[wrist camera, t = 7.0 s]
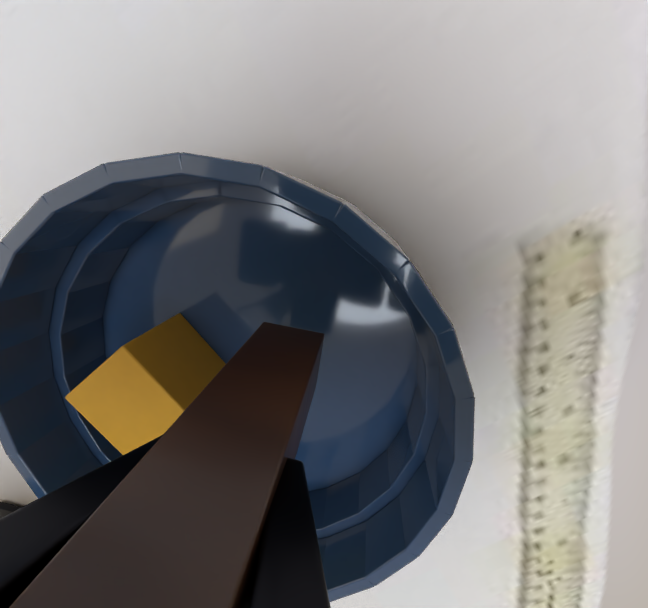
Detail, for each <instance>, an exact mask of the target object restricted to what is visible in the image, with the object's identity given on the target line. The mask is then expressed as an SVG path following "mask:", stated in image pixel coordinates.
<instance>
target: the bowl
mask: <svg viewBox="0 0 648 608" xmlns="http://www.w3.org/2000/svg"><path fill="white" fill-rule="evenodd" d="M179 313H180V314H181V315H182V316H183V317H184V318H185V319H186V320H187V321H188V322H189V323H190V325H191V326H192V327H193V328H194V329H195V330H196V331H197V332H198V333H199V335H200V336H201V337H202V338H203V339H204V340H205V341H206V342H207V343H208V345H209V346H210V347H211V348H212V349H213V350H214V351H215V352H216V354H217V355H218V356H219V357H220V358H221V359H222V360H223V361H224V362H225V364H227V362H228V361H229V360H230V359H231V358H232V357H233V356H234V355H235V353H236V352H237V351H238V350H239V349H240V348H241V347H242V346H243V345H244V343H245V342H246V341H247V340H248V339H249V338H250V337H251V336H252V334H253V333H254V332H255V331H256V330H257V329H258V328H259V327H260V325H261V324H262V323H263V322H268V323H273V324H278V325H283V326H288V327H293V328H298V329H303V330H309V331H314V332H319V333H323V334H324V335H325V336H324V342H323V348H322V353H321V359H320V365H319V371H318V377H317V383H316V388H315V392H314V395H313V398H312V402H311V405H310V409H309V412H308V416H307V419H306V423H305V426H304V430H303V433H302V437H301V440H300V444H299V447H298V451H297V454H296V457H295V459H296V460H300V461H302V462H303V464H304V469H305V474H306V480H307V485H308V490H309V496H310V501H311V506H312V512H313V517H314V522H315V528H316V533H317V538H318V544H319V549H320V554H321V560H322V565H323V570H324V576H325V581H326V586H327V592H328V597H329V602H332V601H335V600H337V599H340V598H343V597H346V596H349V595H352V594H355V593H358V592H360V591H363V590H366V589H369V588H372V587H374V586H376V585H378V584H379V583H381V582H382V581H384V580H385V579H387V578H388V577H390V576H391V575H393V574H394V573H396V572H397V571H399V570H400V569H402V568H403V567H405V566H406V565H407V564H409V563H410V562H412V561H413V560H415V559H416V558H417V557H419V556H420V555H421V554H422V552H423V551H424V550H425V549H426V547H427V546H428V545H429V544H430V542H431V541H432V540H433V539H434V538H435V536H436V535H437V534H438V533H439V531H440V530H441V529H442V528H443V526H444V525H445V524H446V523H447V522H448V520H449V519H450V518H451V517H452V515H453V513H454V510H455V507H456V505H457V502H458V499H459V497H460V494H461V491H462V489H463V486H464V483H465V481H466V478H467V475H468V473H469V470H470V467H471V465H472V461H473V441H474V407H475V398H474V393H473V389H472V386H471V383H470V379H469V376H468V372H467V369H466V366H465V362H464V359H463V355H462V352H461V349H460V345H459V342H458V339H457V335H456V332H455V329H454V327H453V325H452V323H451V322H450V320H449V318H448V317H447V315H446V314H445V312H444V311H443V309H442V308H441V306H440V305H439V303H438V302H437V300H436V299H435V297H434V296H433V294H432V293H431V291H430V290H429V288H428V287H427V285H426V284H425V282H424V280H423V279H422V277H421V276H420V274H419V273H418V271H417V270H416V268H415V267H414V265H413V264H412V262H411V261H410V259H409V258H408V257H407V255H406V254H405V253H404V251H403V250H402V249H401V247H400V246H399V244H398V243H397V242H396V241H395V240H394V239H393V238H392V237H391V236H390V235H388V234H387V233H386V232H385V231H384V230H383V229H382V228H380V227H379V226H378V225H377V224H376V223H375V222H373V221H372V220H371V219H370V218H369V217H368V216H366V215H365V214H364V213H363V212H362V211H361V210H360V209H358V208H357V207H356V206H355V205H354V204H351V203H350V202H349V201H346V200H344V199H342V198H340V197H338V196H336V195H334V194H332V193H329V192H327V191H325V190H323V189H321V188H319V187H317V186H315V185H312V184H310V183H308V182H306V181H304V180H302V179H299V178H297V177H294V176H291V175H288V174H286V173H283V172H280V171H278V170H275V169H272V168H269V167H266V166H263V165H259V164H253V163H246V162H240V161H234V160H228V159H222V158H216V157H209V156H203V155H197V154H191V153H185V152H183V153H179V152H177V153H170V154H163V155H156V156H149V157H143V158H136V159H129V160H122V161H115V162H108V163H105V164H101V165H99V166H97V167H95V168H93V169H91V170H90V171H88V172H86V173H84V174H82V175H80V176H78V177H76V178H74V179H72V180H70V181H68V182H66V183H64V184H62V185H60V186H59V187H57V188H55V189H53V190H51V191H49V192H47V193H45V194H43V196H41V197H40V198H39V199H38V201H37V202H36V203H35V204H34V205H33V206H32V207H31V208H30V209H29V210H28V212H27V213H26V214H25V215H24V216H23V217H22V218H21V219H20V220H19V221H18V222H17V224H16V225H15V226H14V227H13V228H12V229H11V230H10V231H9V232H8V233H7V234H6V236H5V237H4V238H3V239H2V241H1V242H0V441H1V443H2V446H3V448H4V450H5V452H6V455H8V457H9V459H10V460H11V461H12V463H13V464H14V466H15V467H16V468H17V470H18V471H19V473H20V474H21V475H22V477H23V478H24V480H25V481H26V482H27V484H28V485H29V486H30V488H31V489H32V491H33V492H34V493H35V495H36V496H37V498H38V499H39V498H41V497H43V496H45V495H47V494H49V493H51V492H53V491H55V490H57V489H59V488H60V487H62V486H64V485H66V484H68V483H70V482H72V481H74V480H76V479H78V478H80V477H82V476H84V475H86V474H88V473H89V472H91V471H93V470H95V469H97V468H99V467H101V466H103V465H105V464H107V463H109V462H111V461H113V460H115V459H117V458H119V457H120V456H122V454H121V453H120V452H119V451H118V450H117V449H116V448H115V447H114V446H113V445H112V444H111V443H110V442H109V441H108V440H107V439H106V438H105V437H104V436H103V435H102V434H101V433H100V432H99V431H98V430H97V429H96V428H95V427H94V426H93V425H92V424H91V423H90V422H89V421H88V420H87V419H86V418H85V417H84V416H83V415H82V414H81V413H80V412H78V411H77V410H76V409H75V408H74V407H73V406H72V405H71V404H70V403H69V402H68V401H67V400H66V399H65V397H66V395H67V394H68V393H70V392H71V391H72V390H73V389H74V388H75V387H76V386H77V385H79V384H80V383H81V382H82V381H83V380H84V379H85V378H86V377H88V376H89V375H90V374H91V373H92V372H93V371H94V370H96V369H97V368H98V367H99V366H100V365H101V364H102V363H103V362H105V361H106V360H107V359H108V358H109V357H110V356H111V355H112V354H114V353H115V352H116V351H117V350H118V349H119V348H120V347H121V346H123V345H125V344H126V343H128V342H130V341H132V340H133V339H135V338H137V337H138V336H140V335H142V334H144V333H145V332H147V331H149V330H151V329H152V328H154V327H156V326H158V325H159V324H161V323H163V322H165V321H166V320H168V319H170V318H171V317H173V316H175V315H177V314H179Z"/></svg>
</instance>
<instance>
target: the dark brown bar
mask: <svg viewBox="0 0 648 608" xmlns="http://www.w3.org/2000/svg"><path fill="white" fill-rule="evenodd" d="M324 336H325V335H324V334H323V333H319V332H314V331H309V330H303V329H298V328H293V327H288V326H283V325H278V324H273V323H268V322H263V323H262V324H261V325H260V327H259V328H258V329H257V330H256V331H255V332H254V333H253V334H252V336H251V337H250V338H249V339H248V340H247V341H246V342H245V343H244V345H243V346H242V347H241V348H240V349H239V350H238V351H237V352H236V353H235V355H234V356H233V357H232V358H231V359H230V360H229V361H228V362H227V364H226V365H225V366H224V367H223V368H222V369H221V370H220V371H219V373H218V374H217V375H216V376H215V377H214V378H213V379H212V380H211V382H210V383H209V384H208V385H207V386H206V387H205V388H204V389H203V390H202V392H201V393H200V394H199V395H198V396H197V397H196V398H195V399H194V401H193V402H192V403H191V404H190V405H189V406H188V407H187V408H186V410H185V411H184V412H183V413H182V414H181V415H180V416H179V417H178V418H177V420H176V421H175V422H174V423H173V424H172V425H171V426H170V427H169V429H168V430H167V431H166V432H165V433H164V434H163V435H162V436H161V438H160V439H159V440H158V441H157V442H156V443H155V444H154V445H153V446H152V448H151V449H150V450H149V451H148V452H147V453H146V454H145V455H144V457H143V458H142V459H141V460H140V461H139V462H138V463H137V464H136V466H135V467H134V468H133V469H132V470H131V471H130V472H129V473H128V474H127V476H126V477H125V478H124V479H123V480H122V481H121V482H120V483H119V485H118V486H117V487H116V488H115V489H114V490H113V491H112V492H111V494H110V495H109V496H108V497H107V498H106V499H105V500H104V501H103V502H102V504H101V505H100V506H99V507H98V508H97V509H96V510H95V511H94V513H93V514H92V515H91V516H90V517H89V518H88V519H87V520H86V522H85V523H84V524H83V525H82V526H81V527H80V528H79V529H78V531H77V532H76V533H75V534H74V535H73V536H72V537H71V538H70V539H69V541H68V542H67V543H66V544H65V545H64V546H63V547H62V548H61V550H60V551H59V552H58V553H57V554H56V555H55V556H54V557H53V559H52V560H51V561H50V562H49V563H48V564H47V565H46V566H45V567H44V569H43V570H42V571H41V572H40V573H39V574H38V575H37V576H36V578H35V579H34V580H33V581H32V582H31V583H30V584H29V585H28V587H27V588H26V589H25V590H24V591H23V592H22V593H21V594H20V595H19V597H18V598H17V599H16V600H15V601H14V602H13V603H12V604H11V606H10V607H9V608H249V606H250V600H251V595H252V589H253V584H254V579H255V573H256V568H257V562H258V557H259V551H260V546H261V540H262V535H263V529H264V524H265V521H266V517H267V514H268V511H269V509H270V506H271V503H272V500H273V497H274V494H275V492H276V489H277V486H278V483H279V481H280V478H281V475H282V472H283V469H284V467H285V464H286V461H287V459H288V458H292V459H295V457H296V454H297V451H298V447H299V444H300V440H301V437H302V433H303V430H304V426H305V423H306V419H307V416H308V412H309V409H310V405H311V402H312V398H313V395H314V392H315V388H316V383H317V377H318V371H319V365H320V359H321V353H322V348H323V342H324Z"/></svg>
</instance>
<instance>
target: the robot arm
mask: <svg viewBox="0 0 648 608" xmlns="http://www.w3.org/2000/svg"><path fill="white" fill-rule="evenodd" d="M161 436H162V435H161ZM161 436H159V437H157V438H155V439H153V440H151V441H149V442H148V443H146V444H144V445H142V446H140V447H138V448H136V449H134V450H132V451H130V452H128V453H126V454H124V455H122V456H120V457H119V458H117V459H115V460H113V461H111V462H109V463H107V464H105V465H103V466H101V467H99V468H97V469H95V470H93V471H91V472H89V473H88V474H86V475H84V476H82V477H80V478H78V479H76V480H74V481H72V482H70V483H68V484H66V485H64V486H62V487H60V488H59V489H57V490H55V491H53V492H51V493H49V494H47V495H45V496H43V497H41V498H39V499H37V500H35V501H33V502H31V503H30V504H28V505H26V506H24V507H18V506H14V505H10V504H7V503H3V502H0V608H9V607H10V606H11V604H12V603H13V602H14V601H15V600H16V599H17V598H18V597H19V595H20V594H21V593H22V592H23V591H24V590H25V589H26V588H27V587H28V585H29V584H30V583H31V582H32V581H33V580H34V579H35V578H36V576H37V575H38V574H39V573H40V572H41V571H42V570H43V569H44V567H45V566H46V565H47V564H48V563H49V562H50V561H51V560H52V559H53V557H54V556H55V555H56V554H57V553H58V552H59V551H60V550H61V548H62V547H63V546H64V545H65V544H66V543H67V542H68V541H69V539H70V538H71V537H72V536H73V535H74V534H75V533H76V532H77V531H78V529H79V528H80V527H81V526H82V525H83V524H84V523H85V522H86V520H87V519H88V518H89V517H90V516H91V515H92V514H93V513H94V511H95V510H96V509H97V508H98V507H99V506H100V505H101V504H102V502H103V501H104V500H105V499H106V498H107V497H108V496H109V495H110V494H111V492H112V491H113V490H114V489H115V488H116V487H117V486H118V485H119V483H120V482H121V481H122V480H123V479H124V478H125V477H126V476H127V474H128V473H129V472H130V471H131V470H132V469H133V468H134V467H135V466H136V464H137V463H138V462H139V461H140V460H141V459H142V458H143V457H144V455H145V454H146V453H147V452H148V451H149V450H150V449H151V448H152V446H153V445H154V444H155V443H156V442H157V441H158V440H159V439H160V438H161ZM249 608H330V602H329V597H328V592H327V586H326V581H325V576H324V570H323V565H322V560H321V554H320V549H319V544H318V538H317V533H316V528H315V522H314V517H313V512H312V506H311V501H310V496H309V490H308V485H307V480H306V474H305V469H304V464H303V462H302V461H300V460H296V459H292V458H288V459H287V461H286V464H285V467H284V469H283V472H282V475H281V478H280V481H279V483H278V486H277V489H276V492H275V494H274V497H273V500H272V503H271V506H270V509H269V511H268V514H267V517H266V521H265V524H264V529H263V535H262V540H261V546H260V551H259V557H258V562H257V568H256V573H255V579H254V584H253V589H252V595H251V600H250V606H249Z"/></svg>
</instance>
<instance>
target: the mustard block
mask: <svg viewBox="0 0 648 608" xmlns="http://www.w3.org/2000/svg"><path fill="white" fill-rule="evenodd" d="M225 365H226V364H225V362H224V361H223V360H222V359H221V358H220V357H219V356H218V355H217V354H216V352H215V351H214V350H213V349H212V348H211V347H210V346H209V345H208V343H207V342H206V341H205V340H204V339H203V338H202V337H201V336H200V335H199V333H198V332H197V331H196V330H195V329H194V328H193V327H192V326H191V325H190V323H189V322H188V321H187V320H186V319H185V318H184V317H183V316H182V315H181V314H180V313H179V314H177V315H175V316H173V317H171V318H170V319H168V320H166V321H165V322H163V323H161V324H159V325H158V326H156V327H154V328H152V329H151V330H149V331H147V332H145V333H144V334H142V335H140V336H138V337H137V338H135V339H133V340H132V341H130V342H128V343H126V344H125V345H123V346H121V347H120V348H119V349H118V350H117V351H116V352H115V353H114V354H112V355H111V356H110V357H109V358H108V359H107V360H106V361H105V362H103V363H102V364H101V365H100V366H99V367H98V368H97V369H96V370H94V371H93V372H92V373H91V374H90V375H89V376H88V377H86V378H85V379H84V380H83V381H82V382H81V383H80V384H79V385H77V386H76V387H75V388H74V389H73V390H72V391H71V392H70V393H68V394H67V395H66V397H65V399H66V400H67V401H68V402H69V403H70V404H71V405H72V406H73V407H74V408H75V409H76V410H77V411H78V412H80V413H81V414H82V415H83V416H84V417H85V418H86V419H87V420H88V421H89V422H90V423H91V424H92V425H93V426H94V427H95V428H96V429H97V430H98V431H99V432H100V433H101V434H102V435H103V436H104V437H105V438H106V439H107V440H108V441H109V442H110V443H111V444H112V445H113V446H114V447H115V448H116V449H117V450H118V451H119V452H120V453H121V454H122V455H124V454H126V453H128V452H130V451H132V450H134V449H136V448H138V447H140V446H142V445H144V444H146V443H148V442H149V441H151V440H153V439H155V438H157V437H159V436H161V435H163V434H164V433H165V432H166V431H167V430H168V429H169V427H170V426H171V425H172V424H173V423H174V422H175V421H176V420H177V418H178V417H179V416H180V415H181V414H182V413H183V412H184V411H185V410H186V408H187V407H188V406H189V405H190V404H191V403H192V402H193V401H194V399H195V398H196V397H197V396H198V395H199V394H200V393H201V392H202V390H203V389H204V388H205V387H206V386H207V385H208V384H209V383H210V382H211V380H212V379H213V378H214V377H215V376H216V375H217V374H218V373H219V371H220V370H221V369H222V368H223V367H224V366H225Z"/></svg>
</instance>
